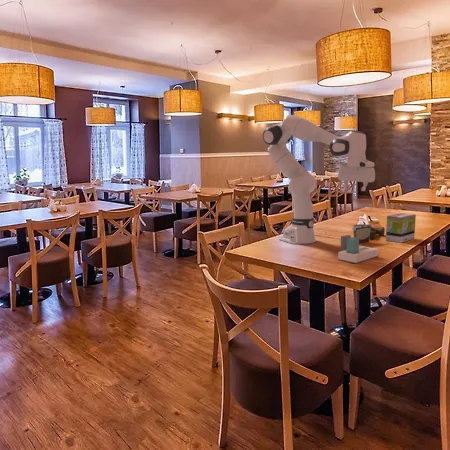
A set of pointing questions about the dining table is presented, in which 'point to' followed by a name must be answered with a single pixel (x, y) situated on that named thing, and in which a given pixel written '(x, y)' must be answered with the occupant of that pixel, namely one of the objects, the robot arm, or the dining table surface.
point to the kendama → (376, 232)
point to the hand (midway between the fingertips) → (355, 190)
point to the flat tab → (344, 242)
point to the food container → (362, 232)
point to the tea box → (400, 227)
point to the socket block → (358, 255)
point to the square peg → (353, 245)
